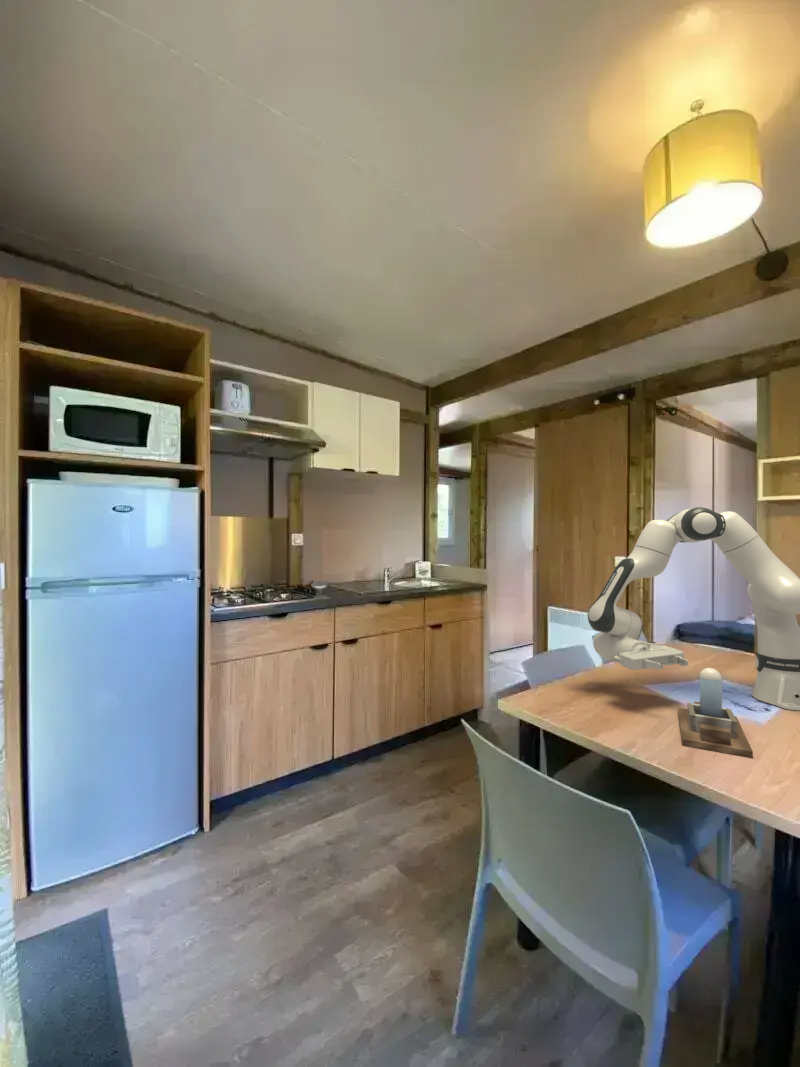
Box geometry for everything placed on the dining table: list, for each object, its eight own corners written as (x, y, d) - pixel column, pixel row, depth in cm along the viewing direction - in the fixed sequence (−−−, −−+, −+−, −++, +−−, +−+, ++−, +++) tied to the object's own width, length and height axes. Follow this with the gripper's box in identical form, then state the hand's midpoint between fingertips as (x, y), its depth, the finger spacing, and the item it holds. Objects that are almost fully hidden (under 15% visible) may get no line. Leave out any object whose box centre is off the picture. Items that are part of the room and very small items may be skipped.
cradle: (736, 721, 129) (736, 701, 129) (752, 758, 108) (752, 734, 108) (677, 712, 135) (677, 693, 135) (682, 745, 114) (682, 722, 114)
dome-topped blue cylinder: (721, 725, 122) (720, 667, 122) (723, 732, 118) (722, 672, 118) (699, 722, 125) (698, 664, 125) (701, 728, 120) (700, 669, 121)
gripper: (609, 647, 144) (645, 657, 131) (660, 641, 151) (699, 650, 137) (610, 667, 144) (646, 680, 131) (660, 660, 150) (700, 671, 137)
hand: (674, 664), depth 134 cm, fingers open, 8 cm apart
